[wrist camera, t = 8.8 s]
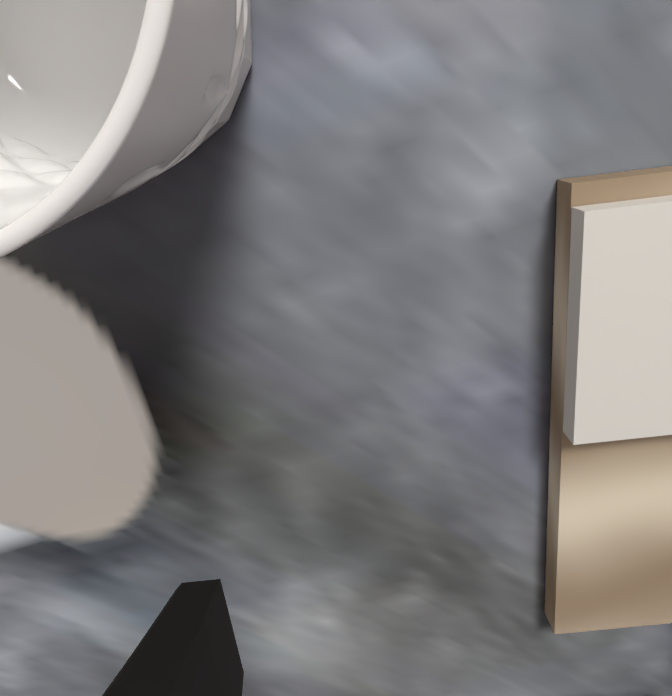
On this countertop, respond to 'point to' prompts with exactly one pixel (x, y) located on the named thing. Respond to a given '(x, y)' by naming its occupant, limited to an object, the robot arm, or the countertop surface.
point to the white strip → (619, 322)
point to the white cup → (107, 99)
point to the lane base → (604, 472)
